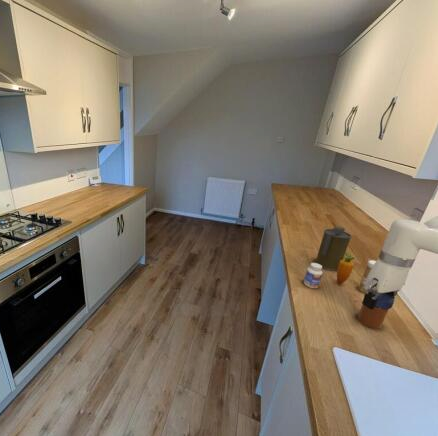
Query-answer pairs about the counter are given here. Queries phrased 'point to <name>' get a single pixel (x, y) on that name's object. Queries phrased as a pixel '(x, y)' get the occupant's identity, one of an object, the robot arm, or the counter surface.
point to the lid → (384, 300)
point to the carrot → (345, 268)
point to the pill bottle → (313, 275)
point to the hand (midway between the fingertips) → (376, 304)
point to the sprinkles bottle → (366, 274)
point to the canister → (333, 248)
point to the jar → (372, 316)
